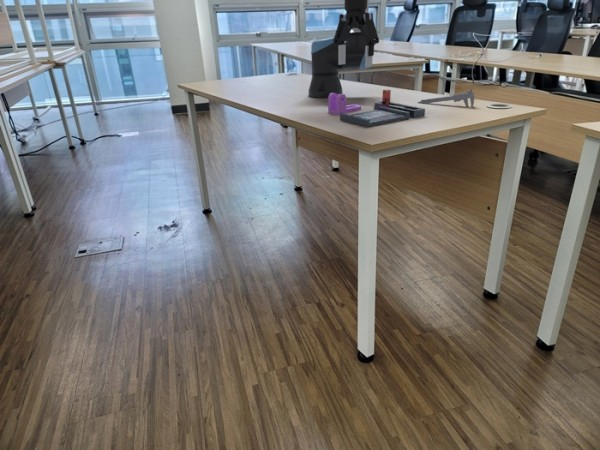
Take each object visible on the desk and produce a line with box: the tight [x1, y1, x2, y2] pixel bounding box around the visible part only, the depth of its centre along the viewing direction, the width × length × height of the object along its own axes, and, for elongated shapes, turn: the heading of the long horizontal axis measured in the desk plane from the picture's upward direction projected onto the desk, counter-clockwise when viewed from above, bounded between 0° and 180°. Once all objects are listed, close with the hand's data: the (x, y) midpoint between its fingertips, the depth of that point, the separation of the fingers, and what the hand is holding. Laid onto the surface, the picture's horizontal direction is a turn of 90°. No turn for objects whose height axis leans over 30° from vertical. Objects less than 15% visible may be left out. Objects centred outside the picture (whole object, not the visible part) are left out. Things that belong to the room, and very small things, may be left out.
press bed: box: [339, 106, 410, 128], centre depth 140 cm, size 14×18×2 cm
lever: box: [381, 89, 405, 108], centre depth 149 cm, size 10×3×6 cm, turn 31°
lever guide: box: [373, 101, 426, 119], centre depth 148 cm, size 20×5×2 cm, turn 31°
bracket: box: [327, 93, 362, 116], centre depth 154 cm, size 13×6×7 cm, turn 128°
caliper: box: [417, 89, 475, 108], centre depth 157 cm, size 20×1×6 cm, turn 56°
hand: (354, 65), depth 148 cm, fingers open, 13 cm apart
